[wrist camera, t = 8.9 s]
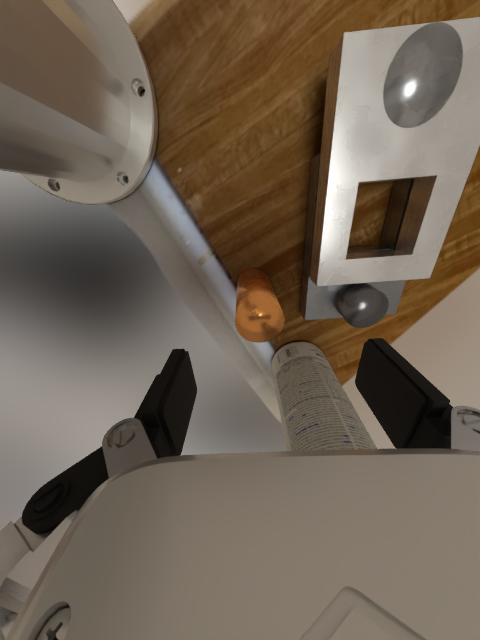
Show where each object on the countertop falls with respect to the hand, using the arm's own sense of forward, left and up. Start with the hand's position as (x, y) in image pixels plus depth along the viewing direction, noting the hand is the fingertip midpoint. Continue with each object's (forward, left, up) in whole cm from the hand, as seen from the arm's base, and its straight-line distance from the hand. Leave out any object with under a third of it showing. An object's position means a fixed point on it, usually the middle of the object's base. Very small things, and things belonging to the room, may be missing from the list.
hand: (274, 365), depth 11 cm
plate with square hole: (+9, +8, -12) cm, 17 cm away
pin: (0, 0, -12) cm, 12 cm away
